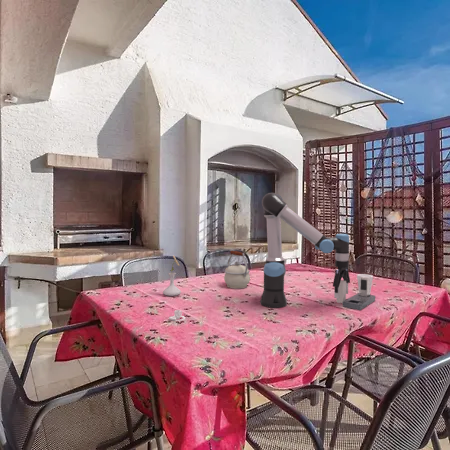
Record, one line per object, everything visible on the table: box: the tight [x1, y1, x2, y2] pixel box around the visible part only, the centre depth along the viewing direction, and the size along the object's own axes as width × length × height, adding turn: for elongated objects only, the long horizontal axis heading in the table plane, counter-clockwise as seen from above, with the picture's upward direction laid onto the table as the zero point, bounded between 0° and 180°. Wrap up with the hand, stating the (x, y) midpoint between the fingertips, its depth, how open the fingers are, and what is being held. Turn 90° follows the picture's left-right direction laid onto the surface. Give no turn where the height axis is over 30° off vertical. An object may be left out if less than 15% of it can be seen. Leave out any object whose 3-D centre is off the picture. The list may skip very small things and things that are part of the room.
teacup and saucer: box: [168, 309, 186, 322], centre depth 168 cm, size 9×8×4 cm
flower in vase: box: [162, 254, 182, 297], centre depth 214 cm, size 13×11×25 cm
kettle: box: [223, 250, 251, 290], centre depth 239 cm, size 25×18×25 cm
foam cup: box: [356, 273, 374, 295], centre depth 215 cm, size 10×9×13 cm
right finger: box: [335, 279, 347, 305], centre depth 199 cm, size 5×4×13 cm
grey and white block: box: [342, 277, 376, 311], centre depth 197 cm, size 10×26×14 cm, turn 139°
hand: (341, 295), depth 199 cm, fingers open, 13 cm apart
